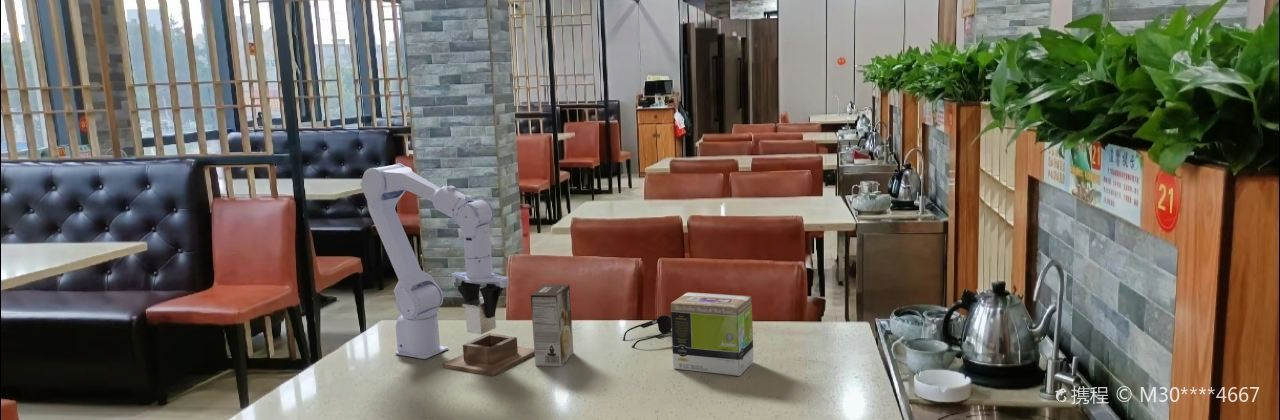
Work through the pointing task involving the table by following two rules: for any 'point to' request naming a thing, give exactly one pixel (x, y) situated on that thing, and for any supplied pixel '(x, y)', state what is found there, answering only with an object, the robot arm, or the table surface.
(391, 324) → the table surface
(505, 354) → the walnut holder
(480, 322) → the pale gray rectangular block
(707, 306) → the tea box
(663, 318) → the sunglasses
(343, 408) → the table surface
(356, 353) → the table surface
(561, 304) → the coffee box
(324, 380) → the table surface
